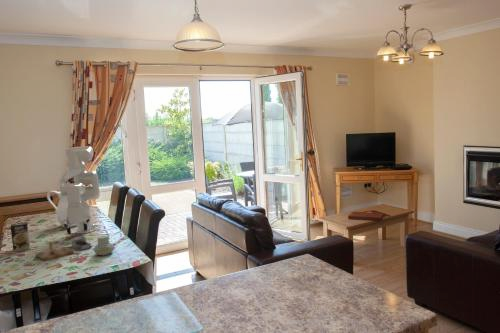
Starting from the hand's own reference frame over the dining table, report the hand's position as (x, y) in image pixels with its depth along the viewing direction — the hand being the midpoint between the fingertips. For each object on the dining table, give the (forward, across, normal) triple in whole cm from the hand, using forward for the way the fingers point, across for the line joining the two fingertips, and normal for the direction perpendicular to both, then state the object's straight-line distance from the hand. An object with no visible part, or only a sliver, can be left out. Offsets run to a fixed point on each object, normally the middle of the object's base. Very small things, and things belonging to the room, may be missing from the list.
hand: (77, 232), depth 240 cm
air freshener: (+10, -4, +28) cm, 30 cm away
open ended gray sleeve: (+9, 0, +3) cm, 9 cm away
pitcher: (+7, -13, -64) cm, 66 cm away
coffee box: (+9, +26, -25) cm, 37 cm away
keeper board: (+9, +16, +5) cm, 19 cm away
